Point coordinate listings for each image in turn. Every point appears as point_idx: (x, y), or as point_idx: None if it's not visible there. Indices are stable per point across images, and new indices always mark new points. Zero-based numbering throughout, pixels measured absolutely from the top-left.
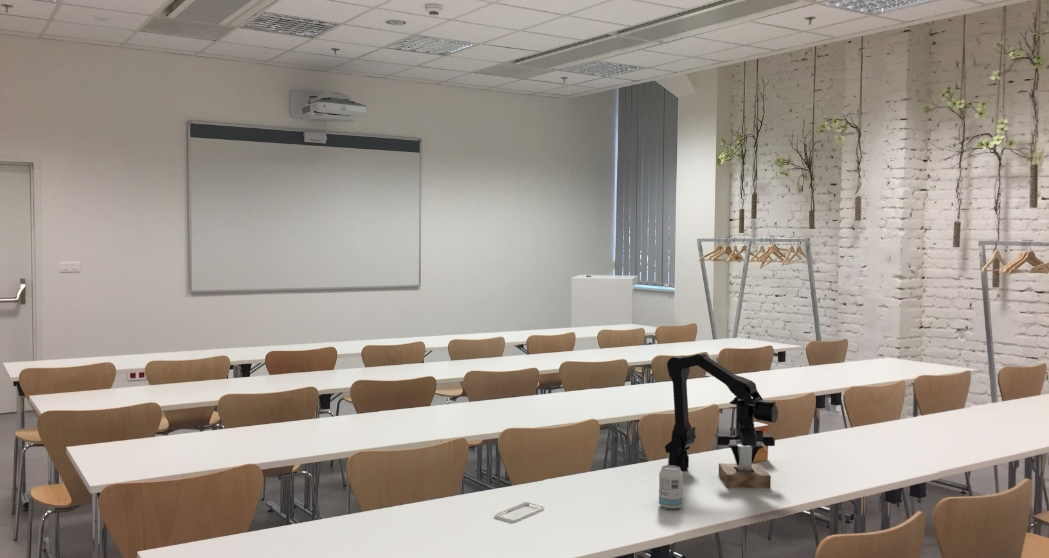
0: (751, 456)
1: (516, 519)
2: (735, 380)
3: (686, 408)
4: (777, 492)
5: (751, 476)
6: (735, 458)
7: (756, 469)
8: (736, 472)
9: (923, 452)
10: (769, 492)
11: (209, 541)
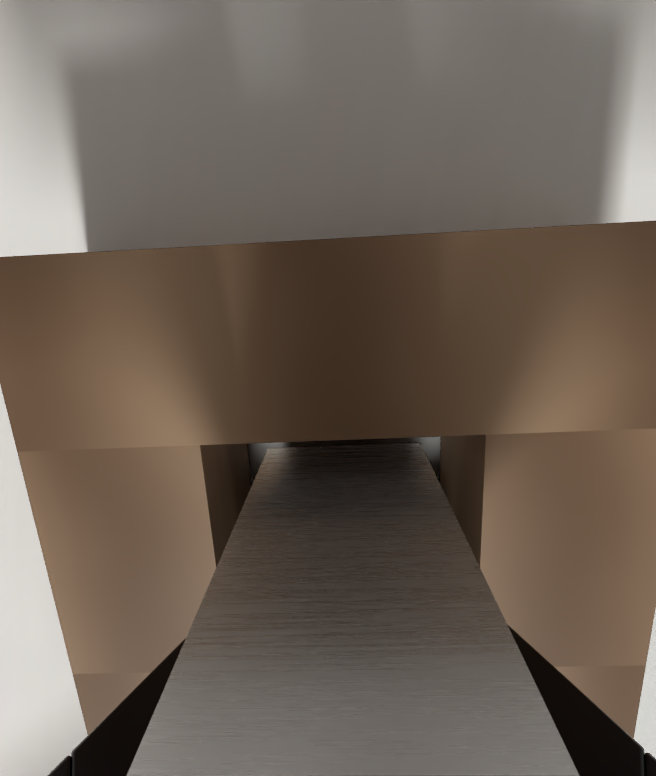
0: (163, 709)
1: None
2: None
3: None
4: (16, 91)
5: (288, 241)
6: (575, 701)
7: (167, 577)
8: (502, 398)
9: None
10: (111, 77)
11: None
